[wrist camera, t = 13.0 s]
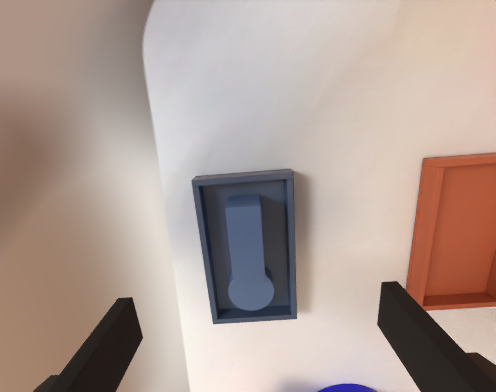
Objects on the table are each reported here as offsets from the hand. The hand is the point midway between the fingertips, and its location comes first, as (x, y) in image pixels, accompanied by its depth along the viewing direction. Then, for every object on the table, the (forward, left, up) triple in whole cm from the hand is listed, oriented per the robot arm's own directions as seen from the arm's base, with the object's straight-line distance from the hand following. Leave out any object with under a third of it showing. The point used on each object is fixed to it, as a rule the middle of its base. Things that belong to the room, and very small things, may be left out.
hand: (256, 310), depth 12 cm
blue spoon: (+3, -1, -12) cm, 12 cm away
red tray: (+3, +21, -12) cm, 25 cm away
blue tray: (+3, -1, -12) cm, 12 cm away
